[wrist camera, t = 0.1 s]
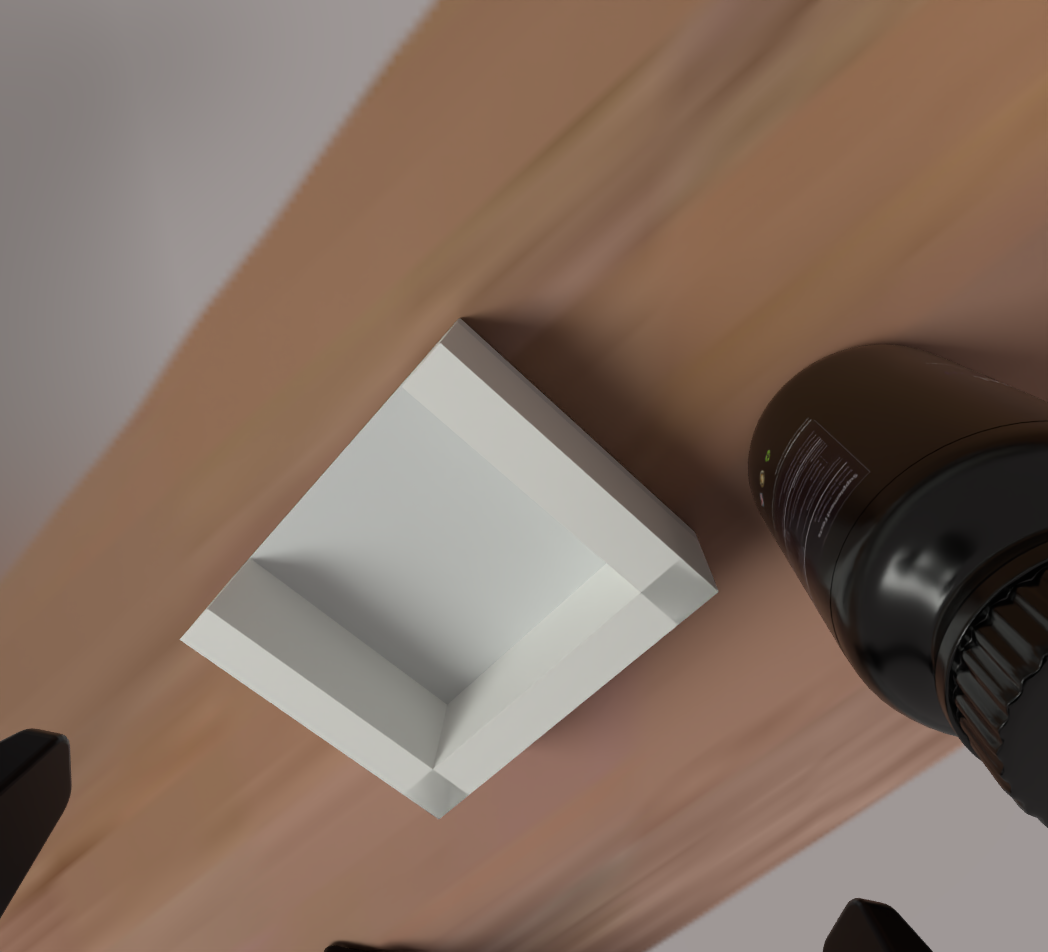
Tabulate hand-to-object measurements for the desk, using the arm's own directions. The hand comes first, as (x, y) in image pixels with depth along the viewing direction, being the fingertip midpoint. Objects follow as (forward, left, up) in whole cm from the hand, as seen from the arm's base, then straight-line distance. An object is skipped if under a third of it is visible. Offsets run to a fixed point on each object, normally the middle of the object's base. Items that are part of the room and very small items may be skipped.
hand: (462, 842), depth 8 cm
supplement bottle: (+2, -10, -15) cm, 18 cm away
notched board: (-5, +1, -15) cm, 15 cm away
